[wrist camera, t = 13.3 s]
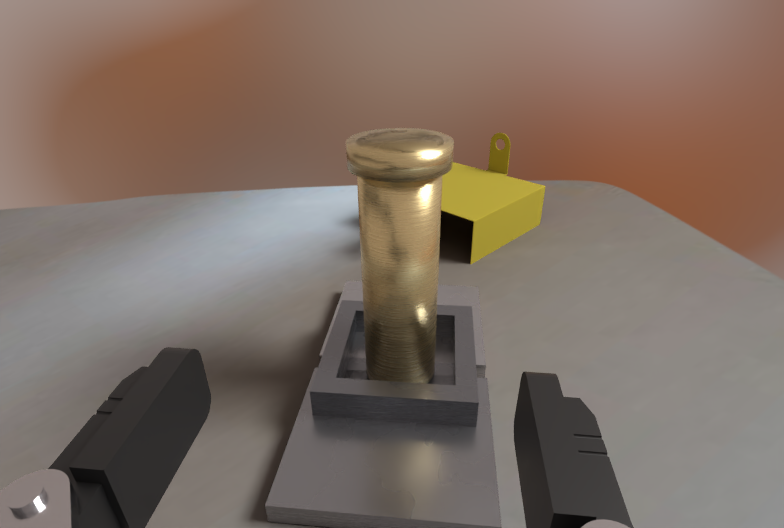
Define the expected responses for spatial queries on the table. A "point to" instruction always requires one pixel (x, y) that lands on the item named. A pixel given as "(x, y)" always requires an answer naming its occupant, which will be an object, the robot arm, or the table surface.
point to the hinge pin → (400, 246)
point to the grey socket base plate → (393, 432)
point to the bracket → (492, 201)
